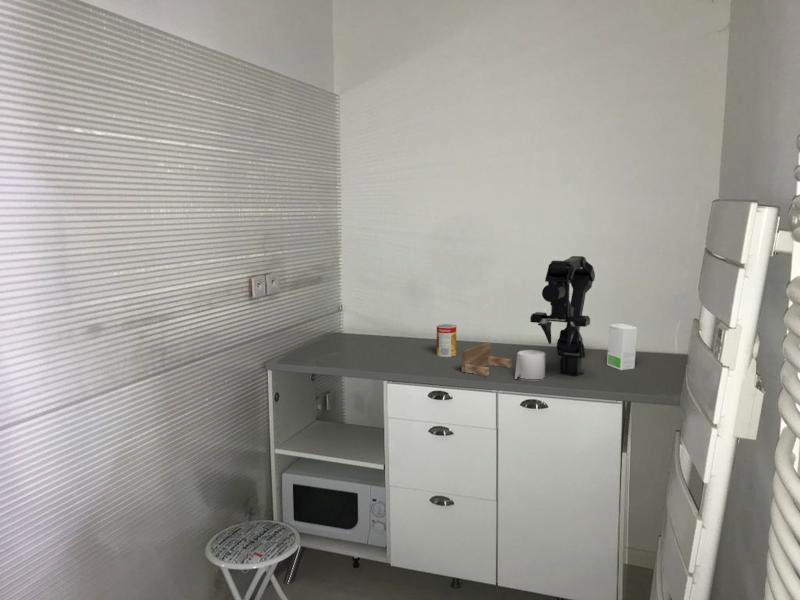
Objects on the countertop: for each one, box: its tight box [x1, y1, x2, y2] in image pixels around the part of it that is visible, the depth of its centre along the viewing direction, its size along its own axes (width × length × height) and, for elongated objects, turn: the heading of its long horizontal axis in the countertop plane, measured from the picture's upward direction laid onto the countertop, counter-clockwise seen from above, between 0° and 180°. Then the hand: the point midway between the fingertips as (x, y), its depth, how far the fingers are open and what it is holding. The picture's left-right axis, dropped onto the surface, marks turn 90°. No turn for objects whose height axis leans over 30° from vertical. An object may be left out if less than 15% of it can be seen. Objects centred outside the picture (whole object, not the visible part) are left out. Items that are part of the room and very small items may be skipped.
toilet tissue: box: [514, 349, 546, 380], centre depth 224 cm, size 9×13×9 cm
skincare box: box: [606, 322, 638, 371], centre depth 237 cm, size 8×7×16 cm
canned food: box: [436, 323, 457, 358], centre depth 260 cm, size 8×8×12 cm
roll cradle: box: [461, 342, 512, 376], centre depth 236 cm, size 10×17×8 cm, turn 141°
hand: (559, 344), depth 217 cm, fingers open, 6 cm apart
